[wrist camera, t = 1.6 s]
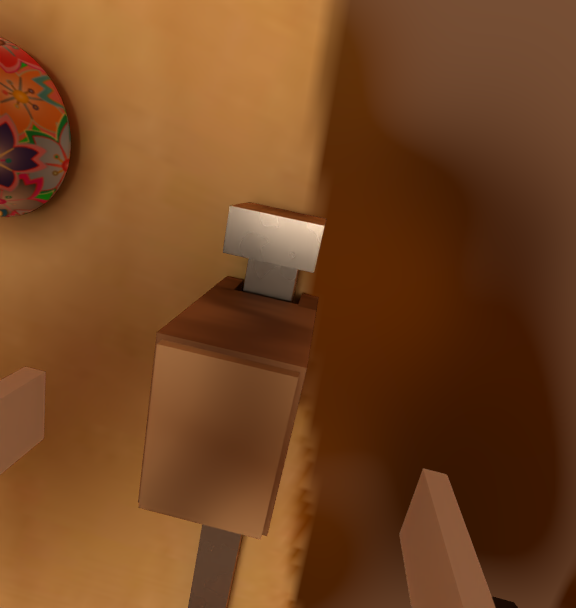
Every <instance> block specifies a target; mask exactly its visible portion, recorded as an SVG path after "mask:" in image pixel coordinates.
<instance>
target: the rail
mask: <svg viewBox="0 0 576 608" xmlns="http://www.w3.org/2000/svg"><path fill="white" fill-rule="evenodd" d="M326 220H327V219H325V218H320V217H316V216H311V215H306V214H302V213H297V212H292V211H288V210H283V209H279V208H274V207H269V206H265V205H260V204H255V203H251V202H249V203H243V204H236V205H230V208H229V215H228V221H227V228H226V234H225V241H224V247H223V253H227V254H232V255H236V256H241V257H245V258H249V260H248V266H247V272H246V277H245V283H244V289H243V292H246V293H250V294H255V295H259V296H264V297H268V298H272V299H277V300H281V301H286V302H290V303H293V298H294V293H295V289H296V284H297V279H298V275H299V270H303V271H308V272H312V273H314V270H315V266H316V263H317V259H318V255H319V251H320V246H321V242H322V237H323V233H324V228H325V224H326ZM242 536H243V535H241V534H237V533H234V532H230V531H226V530H222V529H218V528H214V527H211V526H207V525H202V530H201V536H200V542H199V548H198V553H197V559H196V565H195V571H194V576H193V582H192V588H191V594H190V599H189V605H188V608H227V606H228V601H229V597H230V592H231V587H232V583H233V578H234V573H235V569H236V564H237V559H238V555H239V550H240V545H241V541H242Z"/></svg>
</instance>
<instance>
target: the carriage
mask: <svg viewBox="0 0 576 608" xmlns="http://www.w3.org/2000/svg"><path fill="white" fill-rule="evenodd" d="M242 284H243V280H241V279H236V278H232V277H226V278H224V279H223V280H222V281H221V282H219V283H218V284H217V285H216V286H214V287H213V288H212V289H211V290H209V291H208V292H207V293H206V294H204V295H203V296H202V297H201V298H199V299H198V300H197V301H196V302H194V303H193V304H192V305H191V306H189V307H188V308H187V309H186V310H184V311H183V312H182V313H181V314H179V315H178V316H177V317H176V318H174V319H173V320H172V321H171V322H169V323H168V324H167V325H166V326H164V327H163V328H162V329H161V330H159V331H158V332H157V336H156V346H155V355H154V364H153V373H152V382H151V391H150V400H149V409H148V418H147V427H146V436H145V445H144V454H143V463H142V472H141V481H140V490H139V499H138V502H139V508H142V509H146V510H150V511H153V512H157V513H161V514H165V515H169V516H172V517H176V518H180V519H184V520H188V521H192V522H195V523H199V524H203V525H207V526H211V527H214V528H218V529H222V530H226V531H230V532H234V533H237V534H241V535H245V536H249V537H253V538H256V539H260V540H261V536H262V535H265V536H267V534H268V530H269V526H270V521H271V517H272V513H273V509H274V505H275V500H276V496H277V492H278V488H279V484H280V479H281V475H282V471H283V467H284V462H285V458H286V454H287V450H288V446H289V441H290V437H291V433H292V429H293V425H294V420H295V416H296V412H297V408H298V404H299V399H300V395H301V391H302V387H303V383H304V378H305V374H306V370H307V365H308V359H309V353H310V347H311V341H312V334H313V328H314V322H315V316H316V310H317V304H318V298H319V297H316V296H311V295H307V294H302V295H301V298H300V301H299V304H294V303H290V302H286V301H281V300H277V299H272V298H268V297H264V296H259V295H255V294H250V293H246V292H242V291H241V290H242Z"/></svg>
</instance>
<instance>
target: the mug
mask: <svg viewBox="0 0 576 608" xmlns="http://www.w3.org/2000/svg"><path fill="white" fill-rule="evenodd" d="M70 153H71V134H70V126H69V121H68V117H67V113H66V110H65V107H64V104H63V102H62V99H61V97H60V95H59V93H58V91H57V89H56V87H55V85H54V84H53V82H52V80H51V79H50V77H49V76H48V75H47V73H46V72H45V71H44V70H43V68H42V67H41V66H40V65H39V64H38V63H37V62H36V61H35V60H34V59H33V58H32V57H31V56H30V55H28V54H27V53H26V52H25V51H24V50H22V49H21V48H19V47H18V46H16V45H15V44H13V43H11V42H10V41H8V40H5V39H3V38H1V37H0V216H1V217H10V216H18V215H23V214H26V213H29V212H31V211H33V210H35V209H37V208H39V207H41V206H42V205H44V204H45V203H46V202H47V201H48V200H49V199H50V198H51V197H52V196H53V195H54V194H55V193H56V191H57V190H58V189H59V187H60V185H61V184H62V182H63V179H64V177H65V175H66V172H67V169H68V165H69V160H70Z"/></svg>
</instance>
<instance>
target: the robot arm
mask: <svg viewBox="0 0 576 608" xmlns="http://www.w3.org/2000/svg"><path fill="white" fill-rule="evenodd" d="M45 376H46V372H45V371H41V370H37V369H33V368H29V367H23V368H21V369H20V370H18V371H16V372H14V373H12V374H11V375H9V376H7V377H5V378H3V379H1V380H0V475H1V474H2V473H3V472H4V471H5V470H7V469H8V468H9V467H10V466H11V465H13V464H14V463H15V462H16V461H17V460H19V459H20V458H21V457H22V456H24V455H25V454H26V453H27V452H28V451H30V450H31V449H32V448H33V447H34V446H36V445H37V444H38V443H39V442H40V441H42V440H43V439H44V418H45ZM399 535H400V541H401V547H402V553H403V559H404V565H405V571H406V577H407V583H408V589H409V595H410V601H411V608H518V607H517V606H516V605H515V603H514V602H511V601H507V600H503V599H500V598H496V597H492V596H491V594H490V591H489V588H488V586H487V583H486V580H485V578H484V575H483V572H482V569H481V566H480V564H479V561H478V558H477V556H476V553H475V550H474V548H473V545H472V542H471V539H470V536H469V534H468V531H467V528H466V526H465V523H464V520H463V517H462V515H461V512H460V509H459V506H458V504H457V501H456V498H455V496H454V493H453V490H452V487H451V485H450V482H449V479H448V477H447V475H446V474H442V473H438V472H434V471H431V470H427V469H423V470H422V473H421V476H420V479H419V482H418V485H417V487H416V490H415V493H414V495H413V498H412V501H411V504H410V506H409V509H408V512H407V515H406V518H405V520H404V523H403V526H402V528H401V531H400V534H399Z"/></svg>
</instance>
